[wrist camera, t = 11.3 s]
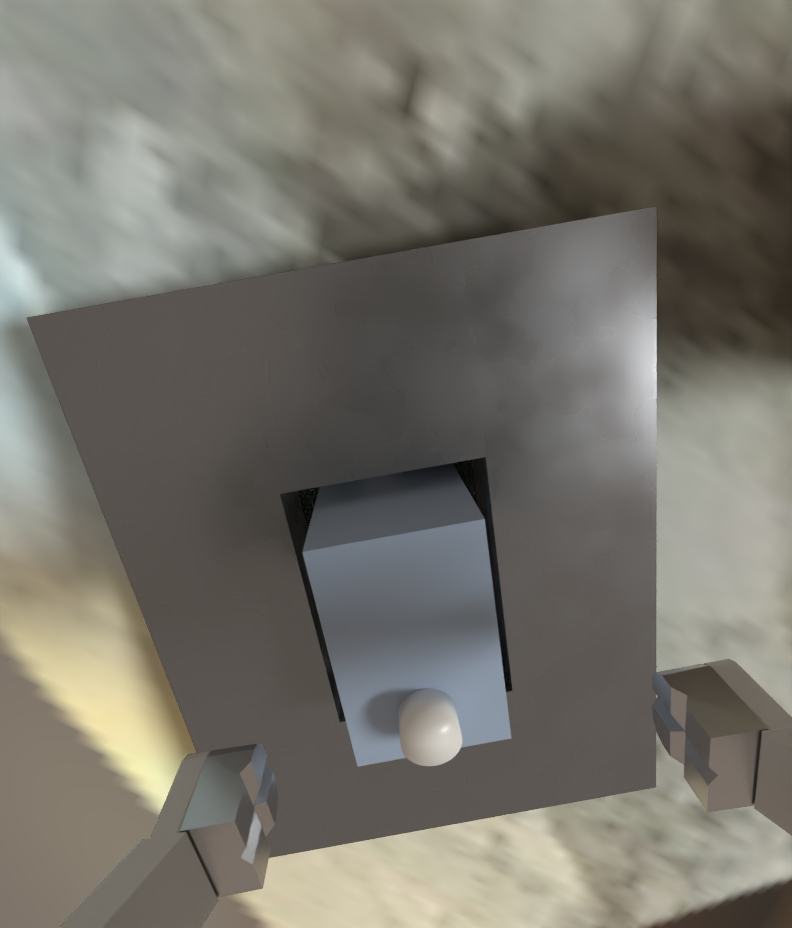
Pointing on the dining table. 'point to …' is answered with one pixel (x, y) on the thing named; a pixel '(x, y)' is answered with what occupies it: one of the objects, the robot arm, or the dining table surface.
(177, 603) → the frame
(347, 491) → the block
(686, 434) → the dining table surface
